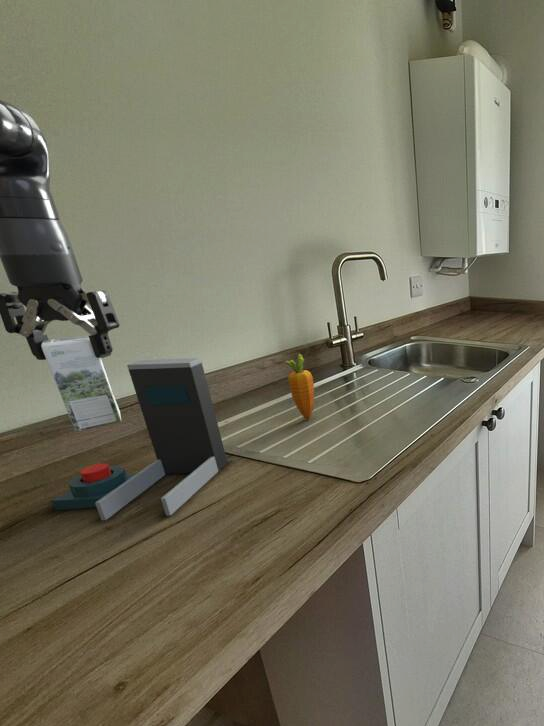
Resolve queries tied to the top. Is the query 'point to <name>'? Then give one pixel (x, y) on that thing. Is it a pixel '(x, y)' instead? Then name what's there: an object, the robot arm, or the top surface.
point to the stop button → (95, 472)
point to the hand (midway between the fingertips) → (75, 357)
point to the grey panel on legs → (172, 432)
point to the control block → (90, 490)
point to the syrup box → (81, 382)
